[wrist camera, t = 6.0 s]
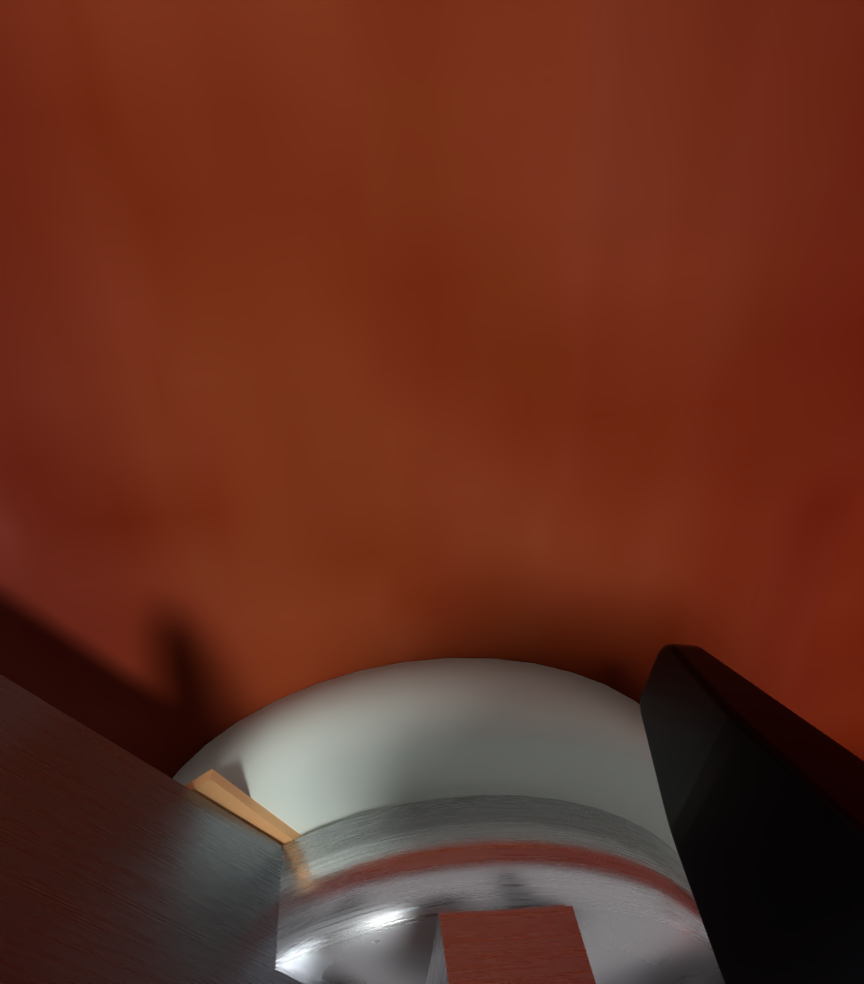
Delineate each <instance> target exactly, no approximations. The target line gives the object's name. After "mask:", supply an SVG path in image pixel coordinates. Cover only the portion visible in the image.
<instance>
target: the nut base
mask: <svg viewBox="0 0 864 984" xmlns="http://www.w3.org/2000/svg"><path fill="white" fill-rule="evenodd" d="M172 779H174V780H175V781H177V782H179V783H180V784H182V785H184V786H185V787H187V788H188V789H190V790H192V791H193V792H195V793H197V794H198V795H200V796H202V797H203V798H205V799H207V800H208V801H210V802H212V803H213V804H215V805H216V806H218V807H220V808H221V809H223V810H225V811H226V812H228V813H230V814H231V815H233V816H235V817H236V818H238V819H239V820H241V821H243V822H244V823H246V824H248V825H249V826H251V827H253V828H254V829H256V830H258V831H259V832H261V833H263V834H264V835H266V836H267V837H269V838H271V839H272V840H274V841H276V842H277V843H279V844H281V845H282V846H283V845H285V844H287V843H289V842H291V841H293V840H295V839H298V838H300V837H302V836H304V835H306V834H308V833H310V832H313V831H315V830H317V829H320V828H323V827H326V826H329V825H331V824H334V823H337V822H340V821H343V820H345V819H348V818H351V817H354V816H357V815H361V814H365V813H369V812H373V811H377V810H380V809H384V808H388V807H392V806H396V805H401V804H407V803H413V802H419V801H425V800H431V799H437V798H448V797H461V796H473V795H522V796H531V797H540V798H549V799H558V800H563V801H568V802H572V803H577V804H581V805H586V806H590V807H595V808H597V809H600V810H603V811H606V812H609V813H612V814H614V815H617V816H620V817H623V818H625V819H627V820H629V821H631V822H633V823H635V824H637V825H639V826H641V827H643V828H644V829H646V830H648V831H650V832H652V833H653V834H654V835H656V836H657V837H658V838H660V839H661V840H662V841H664V842H665V843H666V844H668V845H669V846H670V847H671V848H672V849H673V850H674V851H675V852H676V853H677V854H678V852H677V849H676V846H675V843H674V840H673V837H672V834H671V831H670V828H669V824H668V821H667V817H666V813H665V810H664V806H663V802H662V798H661V793H660V789H659V785H658V781H657V777H656V773H655V769H654V765H653V761H652V757H651V753H650V749H649V745H648V741H647V737H646V733H645V729H644V725H643V721H642V717H641V710H640V704H638V703H637V702H636V701H634V700H633V699H631V698H629V697H627V696H625V695H623V694H621V693H620V692H618V691H616V690H614V689H612V688H610V687H609V686H607V685H605V684H602V683H599V682H597V681H594V680H591V679H589V678H586V677H583V676H581V675H578V674H575V673H573V672H569V671H565V670H561V669H556V668H552V667H548V666H544V665H539V664H535V663H528V662H519V661H511V660H502V659H494V658H442V659H432V660H421V661H410V662H402V663H397V664H391V665H386V666H381V667H376V668H371V669H366V670H361V671H357V672H353V673H350V674H347V675H344V676H340V677H337V678H334V679H330V680H327V681H324V682H320V683H317V684H314V685H312V686H309V687H307V688H305V689H302V690H300V691H298V692H295V693H293V694H290V695H288V696H286V697H283V698H281V699H278V700H276V701H274V702H272V703H270V704H269V705H267V706H265V707H263V708H261V709H260V710H258V711H256V712H254V713H252V714H250V715H249V716H247V717H245V718H243V719H241V720H240V721H238V722H237V723H235V724H234V725H232V726H231V727H230V728H228V729H227V730H225V731H224V732H223V733H221V734H220V735H219V736H217V737H216V738H214V739H213V740H212V741H210V742H209V743H207V744H206V745H205V746H204V747H203V748H202V749H201V750H200V751H199V752H198V753H196V754H195V755H194V756H193V757H192V758H191V759H190V760H189V761H188V762H187V763H186V764H185V765H184V766H183V767H182V768H181V769H180V770H179V771H178V772H177V773H176V775H175V776H174V777H173V778H172Z"/></svg>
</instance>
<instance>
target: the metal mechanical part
mask: <svg viewBox="0 0 864 984" xmlns="http://www.w3.org/2000/svg"><path fill="white" fill-rule="evenodd" d="M0 984H724V981H723V978H722V975H721V972H720V970H719V967H718V964H717V961H716V958H715V956H714V953H713V950H712V947H711V944H710V942H709V939H708V936H707V933H706V930H705V928H704V925H703V922H702V919H701V916H700V914H699V911H698V908H697V905H696V903H695V900H694V897H693V894H692V891H691V889H690V886H689V883H688V880H687V877H686V875H685V872H684V869H683V866H682V863H681V861H680V858H679V855H678V854H677V853H676V852H675V851H674V850H673V849H672V848H671V847H670V846H669V845H668V844H666V843H665V842H664V841H662V840H661V839H660V838H658V837H657V836H656V835H654V834H653V833H652V832H650V831H648V830H646V829H644V828H643V827H641V826H639V825H637V824H635V823H633V822H631V821H629V820H627V819H625V818H623V817H620V816H617V815H614V814H612V813H609V812H606V811H603V810H600V809H597V808H595V807H590V806H586V805H581V804H577V803H572V802H568V801H563V800H558V799H549V798H540V797H531V796H522V795H473V796H461V797H448V798H437V799H431V800H425V801H419V802H413V803H407V804H401V805H396V806H392V807H388V808H384V809H380V810H377V811H373V812H369V813H365V814H361V815H357V816H354V817H351V818H348V819H345V820H343V821H340V822H337V823H334V824H331V825H329V826H326V827H323V828H320V829H317V830H315V831H313V832H310V833H308V834H306V835H304V836H302V837H300V838H298V839H295V840H293V841H291V842H289V843H287V844H285V845H283V846H282V845H281V844H279V843H277V842H276V841H274V840H272V839H271V838H269V837H267V836H266V835H264V834H263V833H261V832H259V831H258V830H256V829H254V828H253V827H251V826H249V825H248V824H246V823H244V822H243V821H241V820H239V819H238V818H236V817H235V816H233V815H231V814H230V813H228V812H226V811H225V810H223V809H221V808H220V807H218V806H216V805H215V804H213V803H212V802H210V801H208V800H207V799H205V798H203V797H202V796H200V795H198V794H197V793H195V792H193V791H192V790H190V789H188V788H187V787H185V786H184V785H182V784H180V783H179V782H177V781H175V780H174V779H172V778H170V777H169V776H167V775H165V774H164V773H162V772H160V771H159V770H157V769H156V768H154V767H152V766H151V765H149V764H147V763H146V762H144V761H142V760H141V759H139V758H137V757H136V756H134V755H132V754H131V753H129V752H128V751H126V750H124V749H123V748H121V747H119V746H118V745H116V744H114V743H113V742H111V741H109V740H108V739H106V738H105V737H103V736H101V735H100V734H98V733H96V732H95V731H93V730H91V729H90V728H88V727H86V726H85V725H83V724H81V723H80V722H78V721H77V720H75V719H73V718H72V717H70V716H68V715H67V714H65V713H63V712H62V711H60V710H58V709H57V708H55V707H53V706H52V705H50V704H49V703H47V702H45V701H44V700H42V699H40V698H39V697H37V696H35V695H34V694H32V693H30V692H29V691H27V690H26V689H24V688H22V687H21V686H19V685H17V684H16V683H14V682H12V681H11V680H9V679H7V678H6V677H4V676H2V675H1V674H0Z"/></svg>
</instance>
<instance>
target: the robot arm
mask: <svg viewBox="0 0 864 984" xmlns="http://www.w3.org/2000/svg"><path fill="white" fill-rule="evenodd" d="M640 710H641V717H642V721H643V725H644V729H645V733H646V737H647V741H648V745H649V749H650V753H651V757H652V761H653V765H654V769H655V773H656V777H657V781H658V785H659V789H660V793H661V798H662V802H663V806H664V810H665V813H666V817H667V821H668V824H669V828H670V831H671V834H672V837H673V840H674V843H675V846H676V849H677V852H678V855H679V858H680V861H681V863H682V866H683V869H684V872H685V875H686V877H687V880H688V883H689V886H690V889H691V891H692V894H693V897H694V900H695V903H696V905H697V908H698V911H699V914H700V916H701V919H702V922H703V925H704V928H705V930H706V933H707V936H708V939H709V942H710V944H711V947H712V950H713V953H714V956H715V958H716V961H717V964H718V967H719V970H720V972H721V975H722V978H723V981H724V984H864V761H863V760H861V759H860V758H858V757H857V756H855V755H854V754H853V753H851V752H850V751H848V750H847V749H845V748H844V747H843V746H841V745H840V744H838V743H837V742H835V741H834V740H832V739H831V738H830V737H828V736H827V735H825V734H824V733H822V732H821V731H820V730H818V729H817V728H815V727H814V726H812V725H811V724H810V723H808V722H807V721H805V720H804V719H802V718H801V717H799V716H798V715H797V714H795V713H794V712H792V711H791V710H789V709H788V708H787V707H785V706H784V705H782V704H781V703H779V702H778V701H776V700H775V699H774V698H772V697H771V696H769V695H768V694H766V693H765V692H764V691H762V690H761V689H759V688H758V687H756V686H755V685H754V684H752V683H751V682H749V681H748V680H746V679H745V678H743V677H742V676H741V675H739V674H738V673H736V672H735V671H733V670H732V669H731V668H729V667H728V666H726V665H725V664H723V663H722V662H720V661H719V660H718V659H716V658H715V657H713V656H712V655H710V654H709V653H708V652H706V651H705V650H703V649H702V648H700V647H697V646H692V645H680V644H668V645H665V646H664V647H663V648H662V649H661V650H660V652H659V653H658V656H657V658H656V660H655V663H654V665H653V668H652V670H651V672H650V675H649V677H648V680H647V682H646V684H645V687H644V689H643V692H642V695H641V700H640Z"/></svg>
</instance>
